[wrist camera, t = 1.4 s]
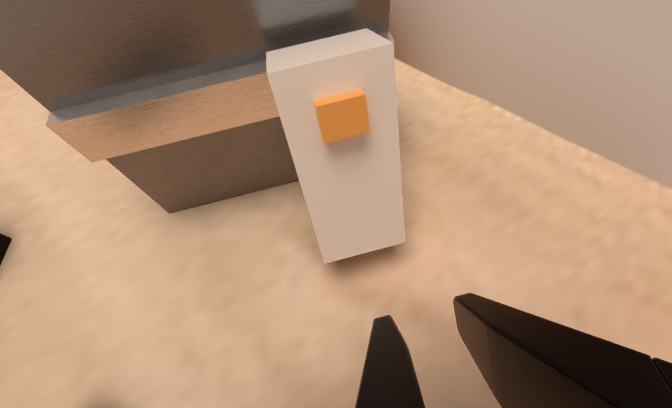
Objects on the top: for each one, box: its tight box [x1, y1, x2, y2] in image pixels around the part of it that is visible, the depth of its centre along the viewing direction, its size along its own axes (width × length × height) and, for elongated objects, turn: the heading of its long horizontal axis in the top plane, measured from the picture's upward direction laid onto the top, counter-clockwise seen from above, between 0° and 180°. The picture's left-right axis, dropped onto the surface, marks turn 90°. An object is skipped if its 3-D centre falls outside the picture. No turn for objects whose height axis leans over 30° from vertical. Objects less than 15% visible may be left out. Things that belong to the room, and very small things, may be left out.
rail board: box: [0, 0, 395, 213], centre depth 20 cm, size 6×18×16 cm, turn 104°
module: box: [266, 28, 405, 264], centre depth 17 cm, size 5×5×11 cm
